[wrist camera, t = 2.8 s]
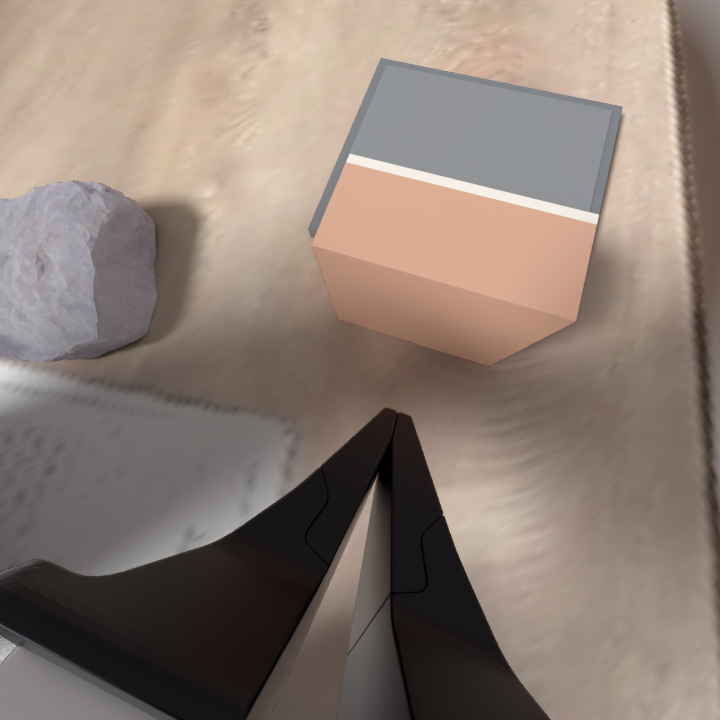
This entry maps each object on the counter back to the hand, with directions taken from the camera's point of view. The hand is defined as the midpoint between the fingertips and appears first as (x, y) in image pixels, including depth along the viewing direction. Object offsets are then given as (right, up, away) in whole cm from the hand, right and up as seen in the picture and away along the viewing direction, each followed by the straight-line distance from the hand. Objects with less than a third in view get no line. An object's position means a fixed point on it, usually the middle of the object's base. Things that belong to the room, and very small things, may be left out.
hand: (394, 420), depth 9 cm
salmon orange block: (+3, +5, +8) cm, 10 cm away
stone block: (-20, +6, +10) cm, 23 cm away
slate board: (+6, +14, +10) cm, 18 cm away
